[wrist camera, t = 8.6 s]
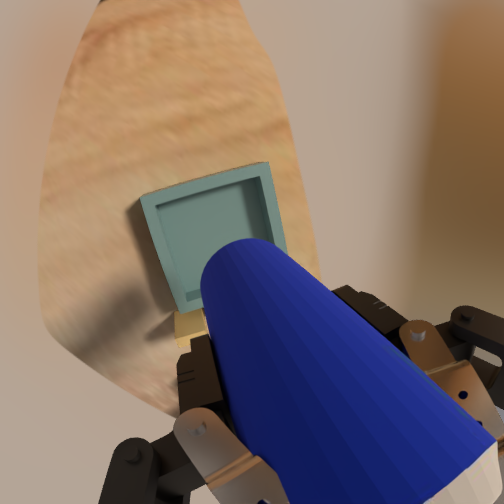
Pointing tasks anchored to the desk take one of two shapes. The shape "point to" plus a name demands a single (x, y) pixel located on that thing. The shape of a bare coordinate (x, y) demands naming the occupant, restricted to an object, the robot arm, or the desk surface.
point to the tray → (210, 223)
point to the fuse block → (189, 326)
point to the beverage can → (334, 392)
